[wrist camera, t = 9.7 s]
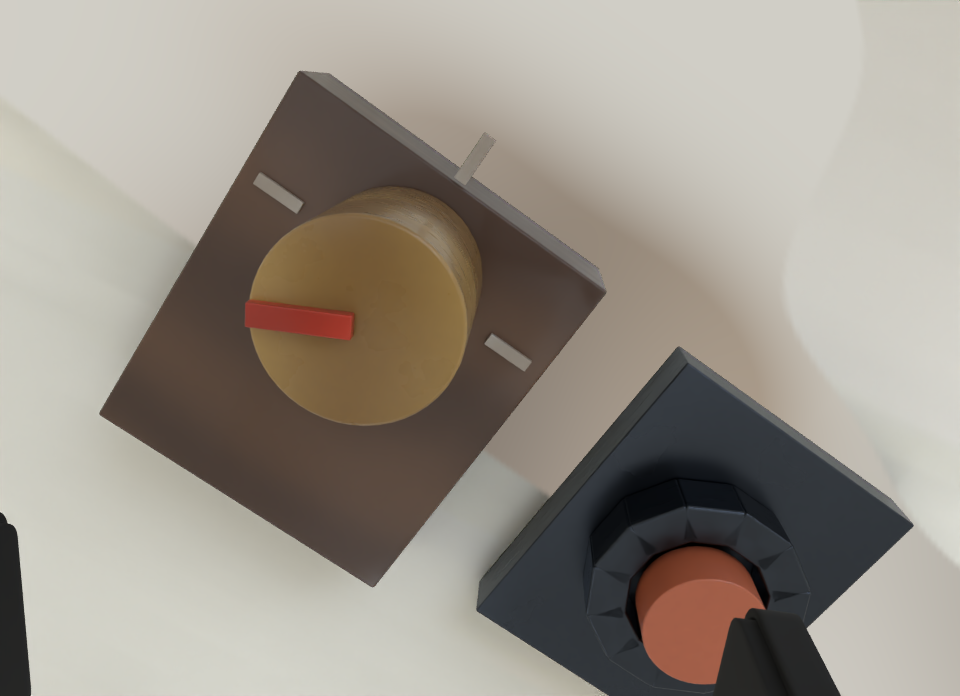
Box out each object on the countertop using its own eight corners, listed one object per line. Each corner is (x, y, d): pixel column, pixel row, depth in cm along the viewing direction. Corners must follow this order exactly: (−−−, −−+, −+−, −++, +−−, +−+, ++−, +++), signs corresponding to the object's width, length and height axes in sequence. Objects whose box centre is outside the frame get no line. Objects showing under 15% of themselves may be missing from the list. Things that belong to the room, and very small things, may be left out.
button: (701, 664, 25) (713, 705, 23) (611, 605, 24) (616, 642, 23) (779, 587, 24) (797, 624, 22) (686, 523, 23) (697, 556, 22)
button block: (676, 709, 29) (694, 788, 26) (479, 581, 28) (471, 646, 25) (891, 498, 26) (943, 558, 23) (678, 345, 25) (699, 384, 22)
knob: (492, 197, 21) (478, 230, 16) (472, 366, 22) (454, 446, 17) (314, 175, 21) (244, 201, 16) (306, 345, 23) (240, 417, 18)
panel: (390, 538, 28) (372, 592, 25) (144, 380, 27) (94, 417, 24) (630, 229, 24) (643, 249, 21) (355, 26, 23) (327, 17, 20)
